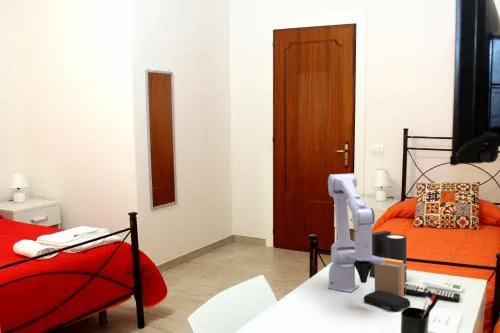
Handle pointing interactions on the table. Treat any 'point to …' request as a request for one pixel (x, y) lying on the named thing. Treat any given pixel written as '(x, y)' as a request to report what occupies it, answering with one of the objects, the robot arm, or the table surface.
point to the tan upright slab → (390, 277)
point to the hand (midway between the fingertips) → (363, 282)
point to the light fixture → (389, 248)
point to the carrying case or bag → (387, 300)
